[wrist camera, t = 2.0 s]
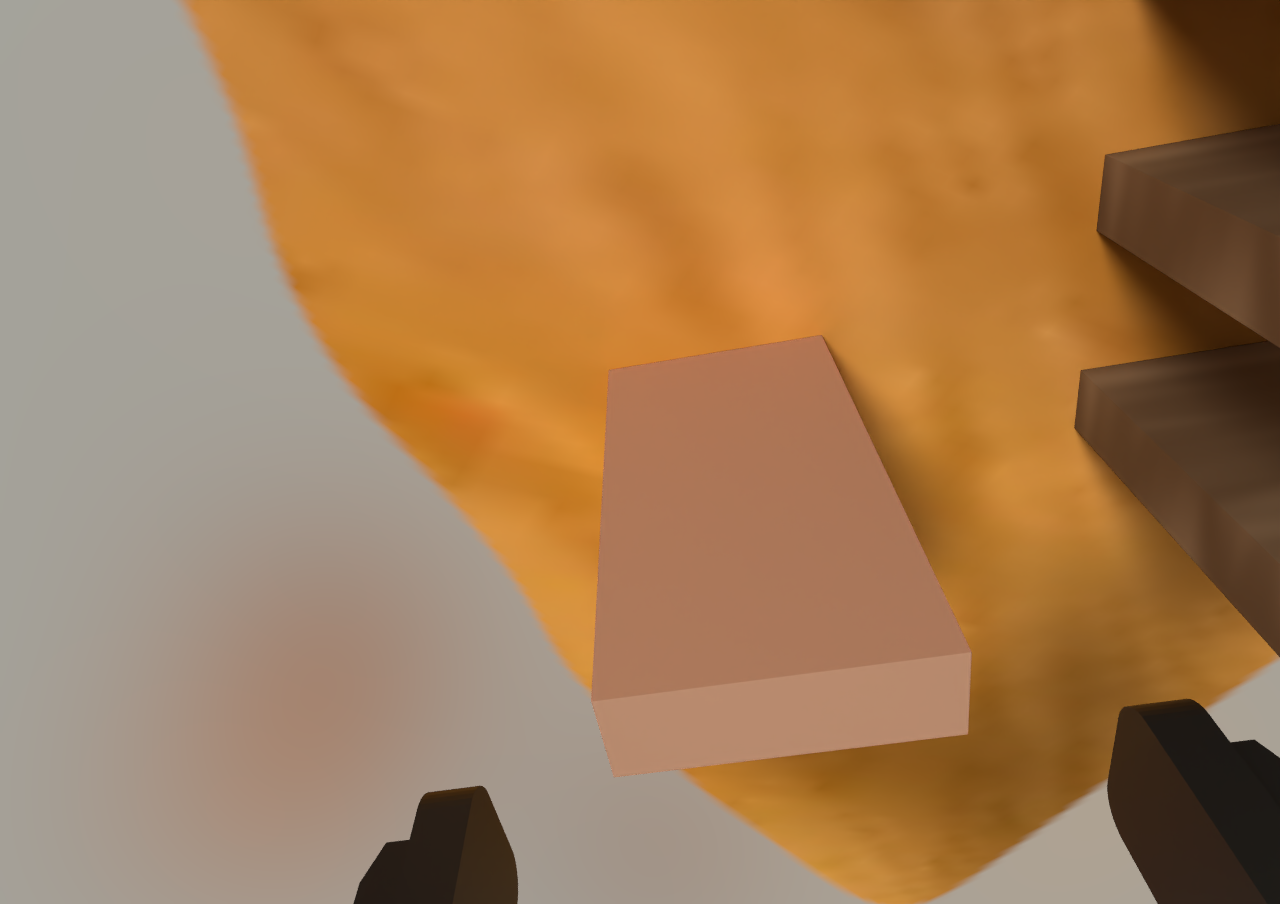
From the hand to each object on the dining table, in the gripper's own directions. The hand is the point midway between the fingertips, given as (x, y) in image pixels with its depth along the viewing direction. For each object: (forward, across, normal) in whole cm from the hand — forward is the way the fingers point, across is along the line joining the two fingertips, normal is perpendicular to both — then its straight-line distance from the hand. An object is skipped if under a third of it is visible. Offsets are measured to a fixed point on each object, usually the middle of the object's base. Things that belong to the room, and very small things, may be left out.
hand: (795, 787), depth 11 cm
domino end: (+11, 0, 0) cm, 11 cm away
